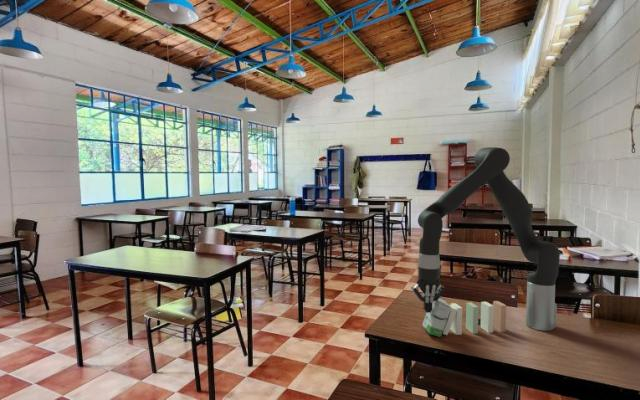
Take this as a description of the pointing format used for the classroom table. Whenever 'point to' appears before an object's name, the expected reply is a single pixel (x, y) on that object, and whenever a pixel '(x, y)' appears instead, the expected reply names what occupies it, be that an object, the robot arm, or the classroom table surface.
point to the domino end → (499, 316)
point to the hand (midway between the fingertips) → (427, 311)
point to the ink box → (437, 318)
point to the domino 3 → (472, 317)
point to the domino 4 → (487, 316)
